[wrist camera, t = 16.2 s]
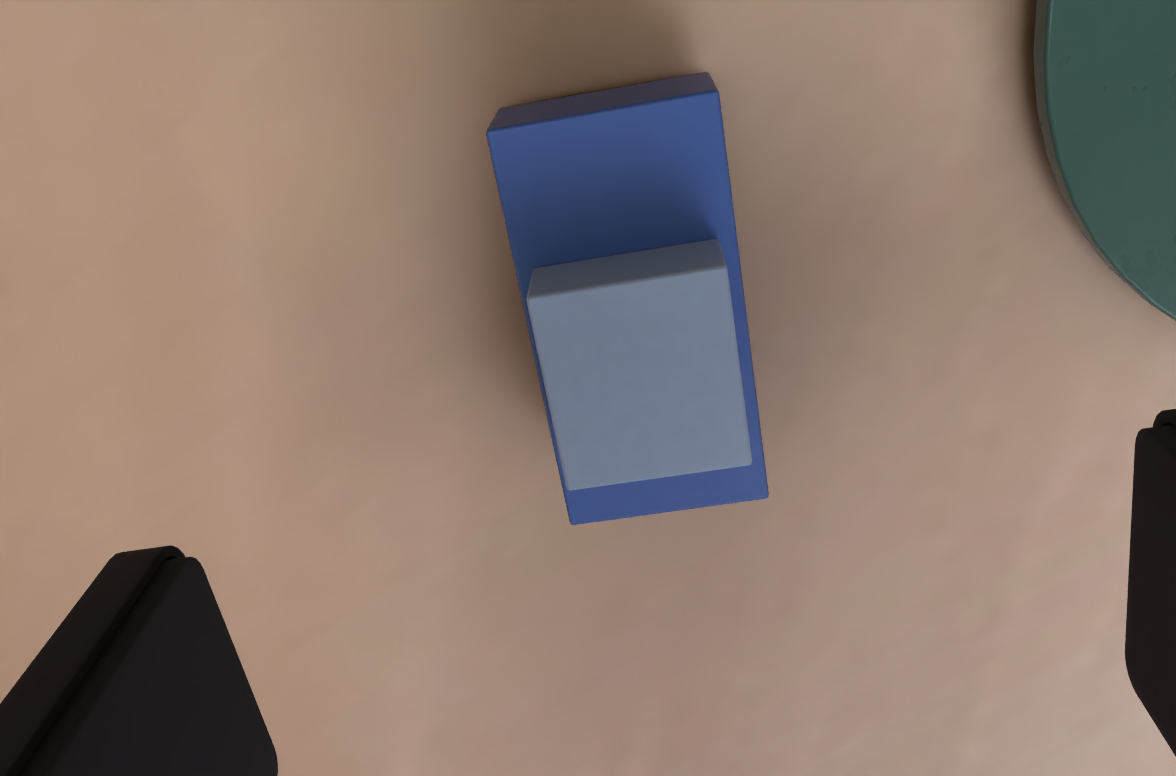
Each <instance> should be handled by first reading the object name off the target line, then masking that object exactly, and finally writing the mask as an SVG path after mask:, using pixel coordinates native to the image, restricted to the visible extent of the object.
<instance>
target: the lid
mask: <svg viewBox="0 0 1176 776" xmlns="http://www.w3.org/2000/svg"><path fill="white" fill-rule="evenodd" d="M1033 61H1034V75H1035V89H1036V104H1037V112H1038V116H1039V121H1040V126H1041V130H1042V135H1043V140H1044V144H1045V149H1046V154H1047V157H1048V160H1049V162H1050V165H1051V168H1052V170H1053V173H1054V176H1055V178H1056V181H1057V184H1058V186H1059V189H1060V192H1061V194H1062V197H1063V199H1064V201H1065V203H1066V204H1067V206H1068V208H1069V210H1070V211H1071V213H1072V215H1073V217H1074V219H1075V220H1076V222H1077V224H1078V226H1079V228H1080V229H1081V231H1082V233H1083V235H1084V236H1085V237H1086V239H1087V240H1088V241H1089V242H1090V244H1091V245H1092V246H1093V247H1094V249H1095V250H1096V251H1097V252H1098V254H1099V255H1100V256H1101V258H1102V259H1103V260H1104V261H1105V263H1106V264H1107V265H1108V266H1109V268H1110V269H1111V270H1112V271H1114V272H1115V273H1116V274H1117V275H1118V276H1119V277H1120V278H1121V279H1122V280H1123V281H1124V282H1126V283H1127V284H1128V285H1129V286H1130V287H1131V288H1132V289H1133V290H1134V291H1135V292H1137V293H1138V294H1139V295H1140V296H1141V297H1142V298H1144V299H1145V300H1146V301H1147V302H1149V303H1150V304H1151V305H1153V306H1154V307H1156V308H1157V309H1159V310H1160V311H1162V312H1163V313H1165V314H1167V315H1168V316H1170V317H1171V318H1173V319H1174V320H1176V0H1037V6H1036V22H1035V39H1034V55H1033Z"/></svg>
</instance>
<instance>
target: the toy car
mask: <svg viewBox="0 0 1176 776" xmlns="http://www.w3.org/2000/svg"><path fill="white" fill-rule="evenodd" d="M486 135H487V140H488V145H489V149H490V154H491V159H492V163H493V168H494V173H495V177H496V182H497V186H498V191H499V196H500V200H501V205H502V210H503V214H504V219H505V224H506V228H507V233H508V238H509V242H510V247H511V251H512V256H513V261H514V265H515V270H516V275H517V279H518V284H519V289H520V293H521V298H522V303H523V307H524V312H525V316H526V321H527V326H528V330H529V335H530V340H531V344H532V349H533V354H534V358H535V363H536V368H537V372H538V377H539V381H540V386H541V391H542V395H543V400H544V405H545V409H546V414H547V419H548V423H549V428H550V433H551V437H552V442H553V446H554V451H555V456H556V460H557V465H558V470H559V474H560V479H561V484H562V488H563V493H564V498H565V502H566V507H567V511H568V516H569V521H570V523H571V525H576V524H584V523H591V522H598V521H605V520H613V519H620V518H627V517H634V516H642V515H649V514H656V513H663V512H671V511H678V510H685V509H693V508H700V507H707V506H714V505H722V504H729V503H736V502H743V501H751V500H758V499H765V498H768V495H769V493H768V485H767V476H766V468H765V460H764V452H763V444H762V436H761V428H760V420H759V412H758V404H757V396H756V388H755V380H754V371H753V363H752V355H751V347H750V339H749V331H748V323H747V315H746V307H745V299H744V291H743V283H742V275H741V266H740V258H739V250H738V242H737V234H736V226H735V218H734V210H733V202H732V194H731V186H730V178H729V170H728V161H727V153H726V145H725V137H724V129H723V121H722V113H721V105H720V97H719V92H718V90H717V88H716V86H715V84H714V82H713V80H712V78H711V76H710V74H709V73H708V72H703V73H697V74H691V75H686V76H680V77H675V78H669V79H663V80H658V81H652V82H646V83H641V84H635V85H630V86H624V87H618V88H613V89H607V90H601V91H596V92H590V93H585V94H579V95H573V96H568V97H562V98H556V99H551V100H545V101H540V102H534V103H528V104H523V105H517V106H511V107H506V108H501V109H499V110H498V112H497V114H496V115H495V117H494V119H493V121H492V122H491V124H490V126H489V127H488V129H487V132H486Z"/></svg>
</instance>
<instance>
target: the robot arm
mask: <svg viewBox="0 0 1176 776" xmlns="http://www.w3.org/2000/svg"><path fill="white" fill-rule="evenodd" d="M1125 660H1126V666H1127V671H1128V675H1129V678H1130V681H1131V683H1132V686H1133V688H1134V690H1135V692H1136V694H1137V695H1138V697H1139V699H1140V700H1141V702H1142V703H1143V705H1144V707H1145V708H1146V710H1147V711H1148V713H1149V715H1150V716H1151V718H1152V719H1153V721H1154V723H1155V724H1156V726H1157V727H1158V729H1159V730H1160V732H1161V734H1162V735H1163V737H1164V738H1165V740H1166V742H1167V743H1168V745H1169V746H1170V748H1171V750H1172V751H1173V753H1174V754H1175V756H1176V409H1171V410H1164V411H1161V412H1160V413H1159V414H1158V415H1157V416H1156V419H1155V421H1154V423H1153V427H1152V428H1144V429H1141V430H1140V431H1139V432H1138V434H1137V437H1136V442H1135V456H1134V476H1133V497H1132V517H1131V538H1130V559H1129V579H1128V600H1127V620H1126V641H1125ZM277 774H278V762H277V755H276V751H275V748H274V745H273V743H272V740H271V738H270V735H269V733H268V730H267V728H266V725H265V723H264V720H263V718H262V715H261V713H260V710H259V707H258V705H257V702H256V700H255V697H254V695H253V692H252V690H251V687H250V685H249V682H248V680H247V677H246V675H245V672H244V670H243V667H242V665H241V662H240V660H239V657H238V655H237V652H236V650H235V647H234V645H233V642H232V640H231V637H230V635H229V632H228V630H227V627H226V624H225V622H224V619H223V617H222V614H221V612H220V609H219V607H218V604H217V602H216V599H215V597H214V594H213V592H212V589H211V587H210V584H209V582H208V579H207V577H206V574H205V572H204V569H203V567H202V566H201V564H200V562H199V561H198V560H197V559H196V558H193V557H185V556H184V554H183V553H182V552H181V551H180V550H179V549H178V548H177V547H174V546H164V547H157V548H149V549H142V550H134V551H127V552H121V553H117V554H115V555H114V556H113V557H112V558H111V559H110V560H109V561H108V562H107V564H106V565H105V566H104V568H103V569H102V570H101V572H100V573H99V574H98V576H97V577H96V578H95V580H94V581H93V582H92V584H91V585H90V586H89V588H88V589H87V590H86V592H85V593H84V594H83V595H82V597H81V598H80V599H79V601H78V602H77V603H76V605H75V606H74V607H73V609H72V610H71V611H70V613H69V614H68V615H67V617H66V618H65V619H64V621H63V622H62V623H61V625H60V626H59V627H58V628H57V630H56V631H55V632H54V634H53V635H52V636H51V638H50V639H49V640H48V642H47V643H46V644H45V646H44V647H43V648H42V650H41V651H40V652H39V654H38V655H37V656H36V658H35V659H34V660H33V661H32V663H31V664H30V665H29V667H28V668H27V669H26V671H25V672H24V673H23V675H22V676H21V677H20V679H19V680H18V681H17V683H16V684H15V685H14V687H13V688H12V689H11V691H10V692H9V693H8V694H7V696H6V697H5V698H4V700H3V701H2V702H1V704H0V776H277Z"/></svg>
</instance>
